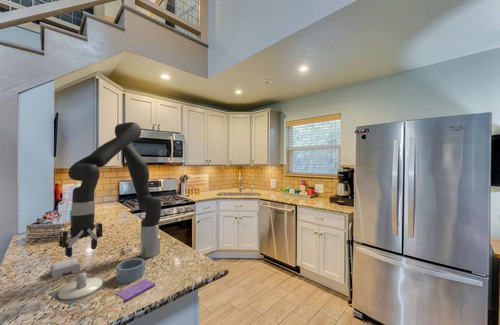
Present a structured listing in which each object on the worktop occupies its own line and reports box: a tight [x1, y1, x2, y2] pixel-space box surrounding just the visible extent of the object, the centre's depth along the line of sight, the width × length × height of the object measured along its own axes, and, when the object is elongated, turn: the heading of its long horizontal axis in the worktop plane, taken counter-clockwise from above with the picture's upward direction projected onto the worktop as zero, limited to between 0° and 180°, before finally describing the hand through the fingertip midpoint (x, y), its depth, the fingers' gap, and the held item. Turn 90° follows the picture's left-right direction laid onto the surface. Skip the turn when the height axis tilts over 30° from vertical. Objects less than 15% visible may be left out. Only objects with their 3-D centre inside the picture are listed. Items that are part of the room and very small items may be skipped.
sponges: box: [115, 278, 156, 303], centre depth 85 cm, size 7×13×2 cm, turn 150°
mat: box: [47, 275, 112, 306], centre depth 85 cm, size 15×15×1 cm
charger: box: [50, 258, 81, 279], centre depth 100 cm, size 5×9×15 cm
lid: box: [58, 272, 104, 300], centre depth 85 cm, size 14×14×6 cm
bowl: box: [115, 257, 146, 284], centre depth 95 cm, size 11×11×6 cm
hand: (81, 252), depth 85 cm, fingers open, 8 cm apart
